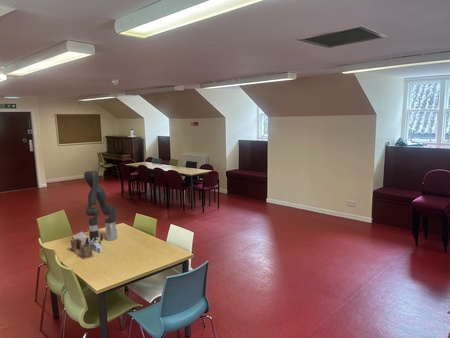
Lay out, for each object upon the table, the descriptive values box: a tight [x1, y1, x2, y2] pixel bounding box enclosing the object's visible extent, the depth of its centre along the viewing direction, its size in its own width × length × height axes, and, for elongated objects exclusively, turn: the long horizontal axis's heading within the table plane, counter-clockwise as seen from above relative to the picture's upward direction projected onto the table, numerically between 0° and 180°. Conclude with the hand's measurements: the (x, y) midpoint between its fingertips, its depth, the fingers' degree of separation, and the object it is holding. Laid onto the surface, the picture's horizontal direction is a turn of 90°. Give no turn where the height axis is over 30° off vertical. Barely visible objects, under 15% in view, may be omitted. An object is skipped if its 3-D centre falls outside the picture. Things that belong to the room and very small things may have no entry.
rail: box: [90, 240, 103, 254], centre depth 288 cm, size 4×22×6 cm, turn 46°
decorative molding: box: [72, 231, 90, 247], centre depth 310 cm, size 34×5×10 cm
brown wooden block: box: [70, 238, 94, 260], centre depth 280 cm, size 8×29×9 cm, turn 46°
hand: (94, 247), depth 288 cm, fingers open, 8 cm apart
